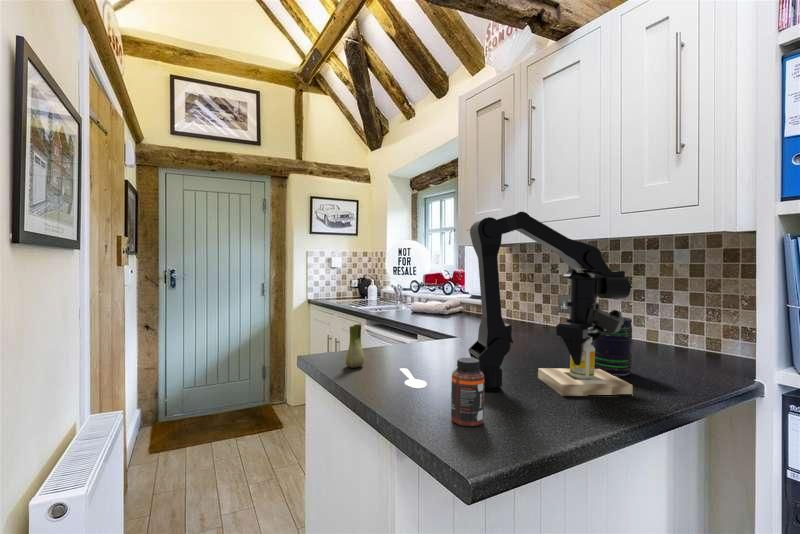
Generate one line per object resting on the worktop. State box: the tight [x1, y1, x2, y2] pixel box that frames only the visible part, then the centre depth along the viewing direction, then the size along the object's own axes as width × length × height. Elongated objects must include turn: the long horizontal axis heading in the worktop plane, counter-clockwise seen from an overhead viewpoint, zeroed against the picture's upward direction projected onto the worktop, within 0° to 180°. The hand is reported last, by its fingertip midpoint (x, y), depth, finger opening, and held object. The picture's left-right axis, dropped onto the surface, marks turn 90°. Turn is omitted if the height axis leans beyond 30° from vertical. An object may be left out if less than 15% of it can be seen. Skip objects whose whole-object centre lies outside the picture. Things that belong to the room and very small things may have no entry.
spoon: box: [399, 367, 428, 390], centre depth 100 cm, size 5×18×1 cm, turn 12°
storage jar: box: [593, 316, 633, 374], centre depth 109 cm, size 10×10×15 cm
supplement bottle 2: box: [569, 336, 595, 379], centre depth 95 cm, size 5×5×10 cm
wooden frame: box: [537, 367, 634, 397], centre depth 95 cm, size 16×14×3 cm
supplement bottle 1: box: [450, 357, 485, 427], centre depth 72 cm, size 6×6×11 cm
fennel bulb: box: [345, 323, 365, 369], centre depth 109 cm, size 6×5×12 cm
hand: (581, 363), depth 95 cm, fingers closed on supplement bottle 2, 5 cm apart
